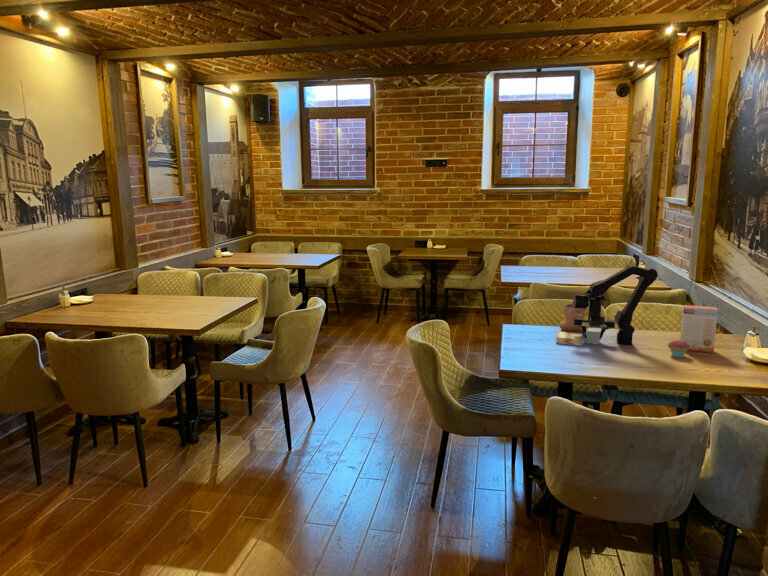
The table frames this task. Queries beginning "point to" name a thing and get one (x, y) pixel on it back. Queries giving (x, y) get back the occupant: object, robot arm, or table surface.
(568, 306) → the ceramic jug
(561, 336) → the birch board
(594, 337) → the gray cube
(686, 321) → the cracker box
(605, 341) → the table surface
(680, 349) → the cupcake
